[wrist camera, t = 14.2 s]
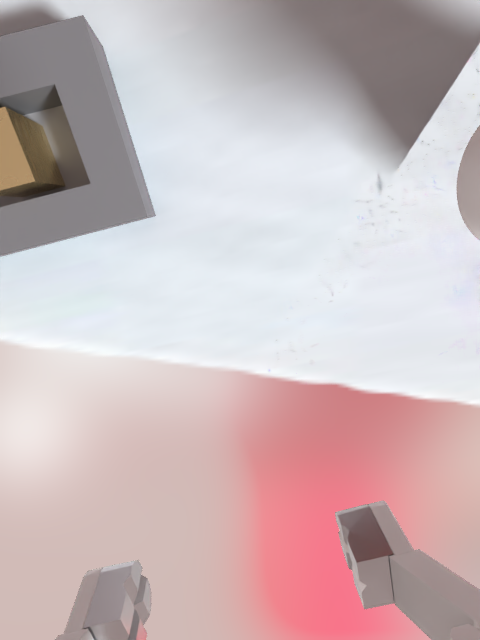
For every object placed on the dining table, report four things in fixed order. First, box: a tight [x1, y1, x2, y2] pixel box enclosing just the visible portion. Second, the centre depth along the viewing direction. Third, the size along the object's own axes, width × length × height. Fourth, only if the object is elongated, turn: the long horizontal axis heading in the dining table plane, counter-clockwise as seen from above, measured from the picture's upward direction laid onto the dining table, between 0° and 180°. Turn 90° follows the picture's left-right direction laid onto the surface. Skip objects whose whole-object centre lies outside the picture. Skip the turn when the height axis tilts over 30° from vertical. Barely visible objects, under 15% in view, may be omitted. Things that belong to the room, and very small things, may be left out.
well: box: [0, 15, 156, 257], centre depth 29 cm, size 18×14×5 cm
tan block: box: [0, 107, 65, 197], centre depth 28 cm, size 4×5×6 cm
